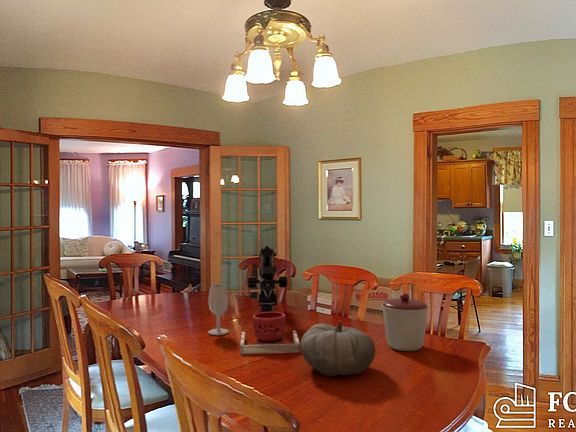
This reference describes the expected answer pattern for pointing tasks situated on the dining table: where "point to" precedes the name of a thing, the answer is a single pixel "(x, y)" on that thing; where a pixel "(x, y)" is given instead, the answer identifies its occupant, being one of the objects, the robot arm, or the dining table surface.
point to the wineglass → (218, 305)
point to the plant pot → (269, 327)
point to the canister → (405, 322)
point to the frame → (270, 347)
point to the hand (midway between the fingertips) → (267, 297)
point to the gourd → (337, 349)
